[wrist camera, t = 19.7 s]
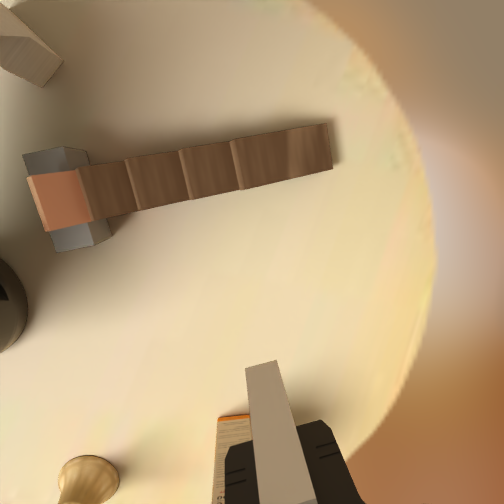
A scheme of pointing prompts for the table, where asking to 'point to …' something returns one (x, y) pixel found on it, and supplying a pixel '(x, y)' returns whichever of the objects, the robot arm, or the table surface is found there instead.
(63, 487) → the hand bell
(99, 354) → the table surface
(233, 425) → the supplement box
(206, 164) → the walnut tile
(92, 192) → the walnut tile
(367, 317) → the table surface
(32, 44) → the beige boxy piece
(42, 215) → the terracotta tile
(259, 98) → the table surface
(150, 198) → the walnut tile
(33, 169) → the block
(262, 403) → the robot arm
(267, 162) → the walnut tile
